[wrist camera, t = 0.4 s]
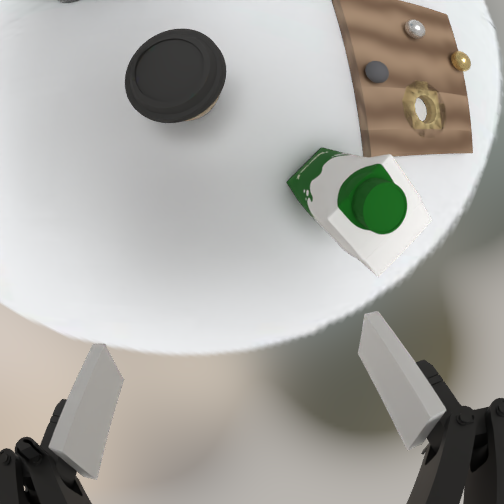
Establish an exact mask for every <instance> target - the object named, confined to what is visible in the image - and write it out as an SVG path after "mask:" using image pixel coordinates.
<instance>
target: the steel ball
mask: <svg viewBox="0 0 504 504" xmlns="http://www.w3.org/2000/svg"><path fill="white" fill-rule="evenodd" d="M405 30H406V32H407V33H408V34H409V35H410V36H411V37H413V38H417V39H419V38H422V37H423V36H424V35H425V27H424V26H423V24H422V23H421V22H419V21H417V20H409V21H407V22H406V24H405Z"/></svg>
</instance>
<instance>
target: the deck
mask: <svg viewBox="0 0 504 504" xmlns="http://www.w3.org/2000/svg"><path fill="white" fill-rule="evenodd" d="M332 3H333V6H334V9H335V13H336V16H337V19H338V23H339V27H340V30H341V34H342V38H343V42H344V46H345V50H346V54H347V58H348V63H349V67H350V72H351V77H352V82H353V87H354V93H355V98H356V104H357V110H358V117H359V124H360V131H361V138H362V147H363V156H364V157H368V158H369V157H375V156H381V155H387V154H390V155H392V156H407V155H424V154H448V153H473V147H472V132H471V121H470V112H469V104H468V97H467V91H466V85H465V80H464V75H463V71H459V70H457V69H456V68H455V67H454V66H453V64H452V62H451V55H452V54H453V53H454V52H456V51H458V49H457V45H456V41H455V38H454V34H453V31H452V28H451V25H450V22H449V19H448V16H447V15H446V14H444V13H441V12H438V11H435V10H432V9H429V8H425V7H422V6H419V5H415V4H411V3H408V2H404V1H400V0H332ZM409 20H417V21H419V22H421V23H422V24H423V26H424V27H425V35H424V36H423V37H422V38H419V39H417V38H413V37H411V36H410V35H409V34H408V33H407V32H406V30H405V24H406V22H407V21H409ZM371 61H380V62H382V63H383V64H385V65H386V67H387V68H388V71H389V77H388V79H387V80H386V81H385V82H383V83H375V82H373V81H371V80H370V79H369V78H368V77H367V75H366V72H365V68H366V66H367V64H368V63H369V62H371ZM418 97H419V98H420V99H422V100H423V102H424V104H425V105H426V109H427V116H426V119H425V121H423V122H422V121H421V120H419V118H418V116H417V114H416V112H415V102H416V98H418Z"/></svg>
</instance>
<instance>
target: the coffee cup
mask: <svg viewBox="0 0 504 504" xmlns="http://www.w3.org/2000/svg"><path fill="white" fill-rule="evenodd" d="M225 78H226V64H225V60H224V57H223V55H222V53H221V51H220V50H219V48H218V47H217V46H216V45H215V43H214V42H213V41H212V40H211V39H210V38H209V37H207V36H206V35H204V34H202V33H200V32H198V31H195V30H190V29H173V30H168V31H165V32H162V33H160V34H157V35H155V36H154V37H152V38H150V39H149V40H148V41H146V42H145V43H144V44H143V45H142V46H141V47H140V48H139V49H138V50H137V51H136V53H135V54H134V55H133V57H132V59H131V61H130V63H129V65H128V68H127V71H126V76H125V89H126V93H127V97H128V99H129V101H130V103H131V104H132V106H133V107H134V108H135V109H136V110H137V111H138V112H139V113H140V114H142V115H143V116H145V117H147V118H149V119H151V120H154V121H157V122H162V123H176V122H182V121H190V120H194V119H197V118H200V117H202V116H204V115H206V114H207V113H208V112H209V111H210V110H211V109H212V108H213V106H214V105H215V103H216V102H217V99H218V97H219V95H220V93H221V91H222V88H223V86H224V83H225Z"/></svg>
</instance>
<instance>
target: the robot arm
mask: <svg viewBox="0 0 504 504" xmlns="http://www.w3.org/2000/svg"><path fill="white" fill-rule="evenodd" d="M58 1H60V2H74V1H78V0H58ZM358 354H359V356H360V358H361V360H362V362H363V364H364V365H365V368H366V369H367V371H368V373H369V375H370V377H371V379H372V381H373V383H374V385H375V386H376V389H377V391H378V392H379V394H380V396H381V398H382V400H383V402H384V404H385V406H386V408H387V410H388V412H389V414H390V416H391V418H392V420H393V422H394V424H395V427H396V428H397V430H398V433H399V434H400V437H401V439H402V441H403V443H404V445H405V447H406V449H407V450H410V449H412V448H415V447H417V446H419V445H421V444H422V443H423V442H424V441H425V439H426V438H427V439H428V441H429V444H428V445H427V446H426V448H425V449H424V450H423V452H422V454H424V453H425V452H426V453H425V456H424V459H423V462H422V465H421V468H420V471H419V474H418V477H417V479H416V482H415V485H414V487H413V490H412V492H411V495H410V497H409V500H408V502H407V504H459V503H460V499H461V496H462V493H463V489H464V488H465V489H464V503H463V504H504V398H498V399H496V400H494V401H493V402H492V403H491V405H490V406H489V407H486V408H481V409H477V410H472V409H471V408H470V407H467V406H461V405H460V404H459V402H458V401H457V400H456V398H455V397H454V395H453V394H452V392H451V391H450V389H449V388H448V386H447V385H446V383H445V382H443V379H442V378H441V376H440V375H438V372H437V371H436V369H435V368H434V367H433V365H431V364H430V363H428V362H427V361H425V360H421V361H419V362H416V363H415V361H414V360H413V358H412V357H411V356H410V354H409V353H408V351H407V350H406V349H405V347H404V346H403V345H402V343H401V342H400V340H399V339H398V337H397V336H396V335H395V333H394V332H393V331H392V329H391V328H390V327H389V325H388V324H387V323H386V321H385V320H384V319H383V317H382V316H381V314H380V313H379V312H378V311H375V312H371V313H366V314H365V315H364V322H363V328H362V334H361V340H360V346H359V351H358ZM123 381H124V379H123V377H122V375H121V373H120V371H119V370H118V368H117V366H116V364H115V362H114V360H113V358H112V356H111V355H110V353H109V351H108V349H107V347H106V345H105V344H93V345H92V347H91V349H90V351H89V353H88V355H87V357H86V360H85V362H84V364H83V366H82V368H81V370H80V372H79V374H78V377H77V378H76V381H75V383H74V385H73V387H72V390H71V392H70V394H69V396H68V399H67V400H66V399H62V400H61V401H60V403H58V405H57V406H56V407H55V410H54V412H53V416H52V417H51V419H50V423H49V424H48V427H47V429H46V432H45V434H44V437H43V440H42V442H41V445H40V446H39V445H38V444H37V443H36V442H35V441H34V440H33V439H32V438H30V437H23V438H21V439H20V440H19V441H18V442H17V443H16V447H15V453H14V452H13V451H12V450H10V449H7V448H6V449H3V450H2V451H1V452H0V504H92V503H91V502H90V500H89V498H88V496H87V494H86V493H85V491H84V489H83V487H82V485H81V483H80V481H79V479H78V478H77V477H76V472H78V473H80V474H81V475H82V476H83V477H87V478H91V479H96V480H97V478H98V473H99V469H100V464H101V460H102V456H103V452H104V447H105V444H106V440H107V436H108V432H109V429H110V425H111V421H112V418H113V414H114V411H115V407H116V404H117V401H118V397H119V394H120V391H121V388H122V384H123ZM23 485H24V486H25V488H26V489H25V491H24V486H23ZM464 486H465V487H464Z"/></svg>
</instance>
